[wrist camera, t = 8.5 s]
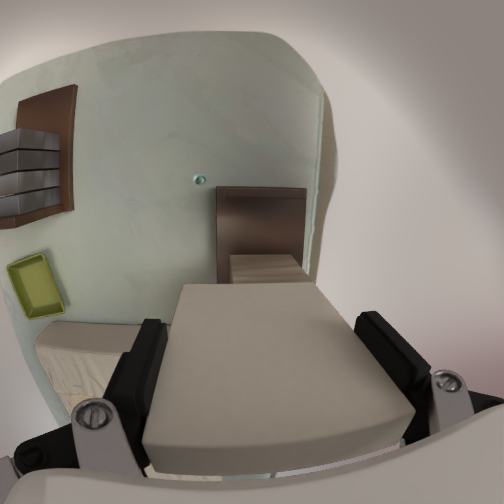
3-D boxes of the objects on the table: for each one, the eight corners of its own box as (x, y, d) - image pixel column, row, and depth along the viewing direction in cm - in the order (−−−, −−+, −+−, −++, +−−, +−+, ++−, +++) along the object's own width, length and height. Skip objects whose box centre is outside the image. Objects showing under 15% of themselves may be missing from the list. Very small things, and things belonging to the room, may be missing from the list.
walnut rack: (22, 102, 24) (-28, 90, 13) (77, 85, 25) (30, 61, 14) (20, 214, 28) (-32, 232, 18) (74, 209, 29) (21, 227, 19)
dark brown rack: (216, 186, 31) (213, 193, 20) (304, 188, 32) (343, 196, 21) (217, 302, 34) (217, 355, 24) (297, 300, 35) (324, 348, 25)
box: (223, 454, 44) (202, 320, 35) (224, 485, 37) (198, 356, 27) (113, 446, 42) (53, 317, 33) (106, 474, 35) (27, 345, 26)
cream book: (183, 283, 14) (139, 442, 5) (313, 281, 15) (417, 410, 6) (185, 310, 15) (154, 473, 5) (310, 307, 16) (398, 444, 6)
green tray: (33, 314, 32) (27, 320, 30) (12, 261, 30) (4, 266, 28) (72, 306, 33) (65, 313, 31) (50, 247, 30) (42, 251, 28)
